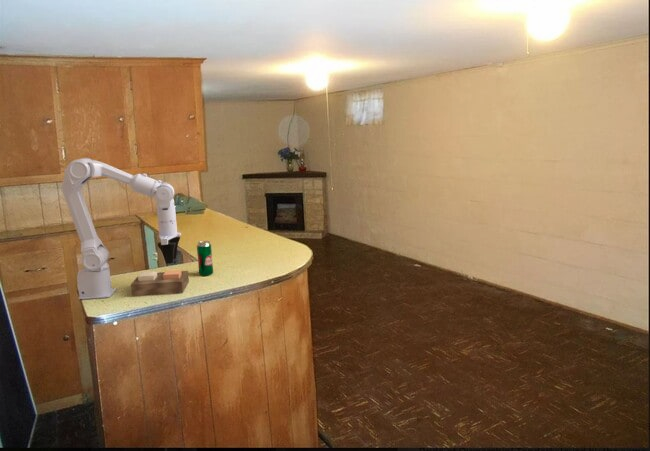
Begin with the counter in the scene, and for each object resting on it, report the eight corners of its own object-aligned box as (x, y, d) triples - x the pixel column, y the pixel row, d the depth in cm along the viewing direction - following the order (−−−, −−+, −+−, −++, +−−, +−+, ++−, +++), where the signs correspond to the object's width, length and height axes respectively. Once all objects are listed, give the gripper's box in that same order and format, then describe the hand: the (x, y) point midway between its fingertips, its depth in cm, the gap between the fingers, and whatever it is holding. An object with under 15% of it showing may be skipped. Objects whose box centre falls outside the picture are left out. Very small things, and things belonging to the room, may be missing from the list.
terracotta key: (163, 282, 164) (162, 275, 163) (166, 277, 169) (166, 270, 168) (179, 281, 164) (178, 274, 164) (181, 276, 169) (181, 269, 169)
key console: (131, 296, 160) (130, 284, 159) (141, 284, 172) (140, 273, 171) (182, 293, 162) (181, 281, 161) (188, 281, 173) (187, 270, 173)
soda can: (208, 276, 178) (205, 244, 176) (196, 275, 180) (193, 243, 178) (216, 272, 183) (213, 241, 181) (204, 271, 185) (201, 240, 183)
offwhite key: (138, 283, 163) (137, 276, 163) (142, 279, 168) (141, 272, 167) (154, 282, 164) (153, 275, 163) (157, 278, 168) (156, 271, 168)
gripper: (175, 224, 156) (179, 266, 159) (183, 216, 170) (187, 254, 173) (152, 225, 155) (156, 267, 158) (162, 217, 169) (166, 255, 172)
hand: (171, 261), depth 165 cm, fingers open, 5 cm apart
